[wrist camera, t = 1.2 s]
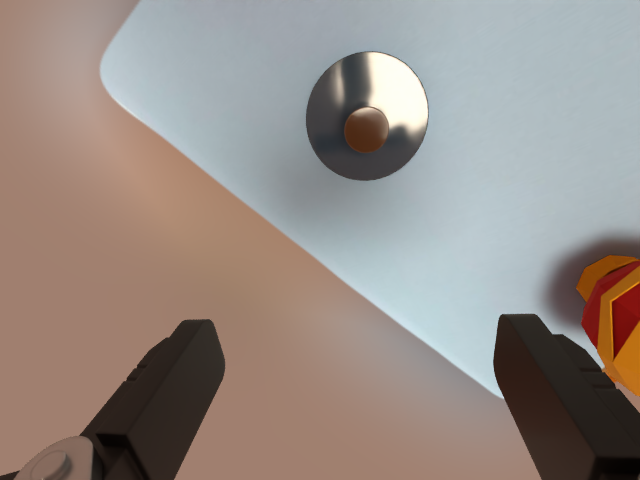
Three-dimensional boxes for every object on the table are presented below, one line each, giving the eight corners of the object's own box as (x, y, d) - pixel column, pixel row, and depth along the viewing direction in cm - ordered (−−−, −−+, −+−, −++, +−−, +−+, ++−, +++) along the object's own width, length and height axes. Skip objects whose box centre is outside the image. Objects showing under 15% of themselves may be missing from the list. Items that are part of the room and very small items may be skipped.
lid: (301, 59, 24) (276, 46, 18) (431, 45, 23) (459, 25, 16) (312, 182, 28) (296, 210, 21) (424, 176, 27) (445, 204, 20)
